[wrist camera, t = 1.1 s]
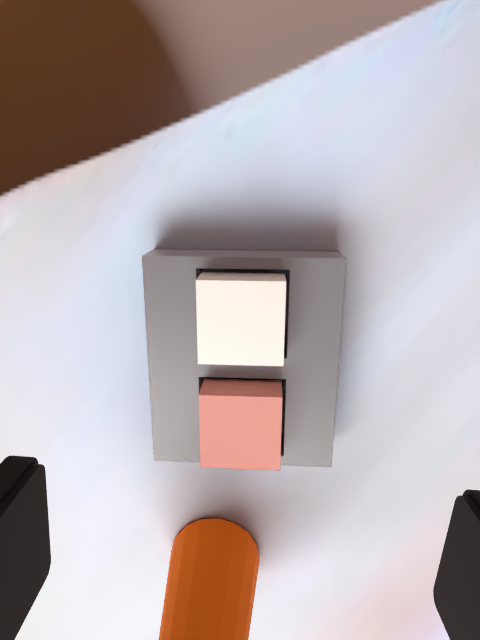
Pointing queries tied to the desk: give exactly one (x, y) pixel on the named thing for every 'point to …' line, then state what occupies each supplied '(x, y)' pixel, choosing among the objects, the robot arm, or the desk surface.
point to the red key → (240, 424)
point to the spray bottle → (210, 583)
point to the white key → (241, 318)
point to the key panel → (298, 371)
